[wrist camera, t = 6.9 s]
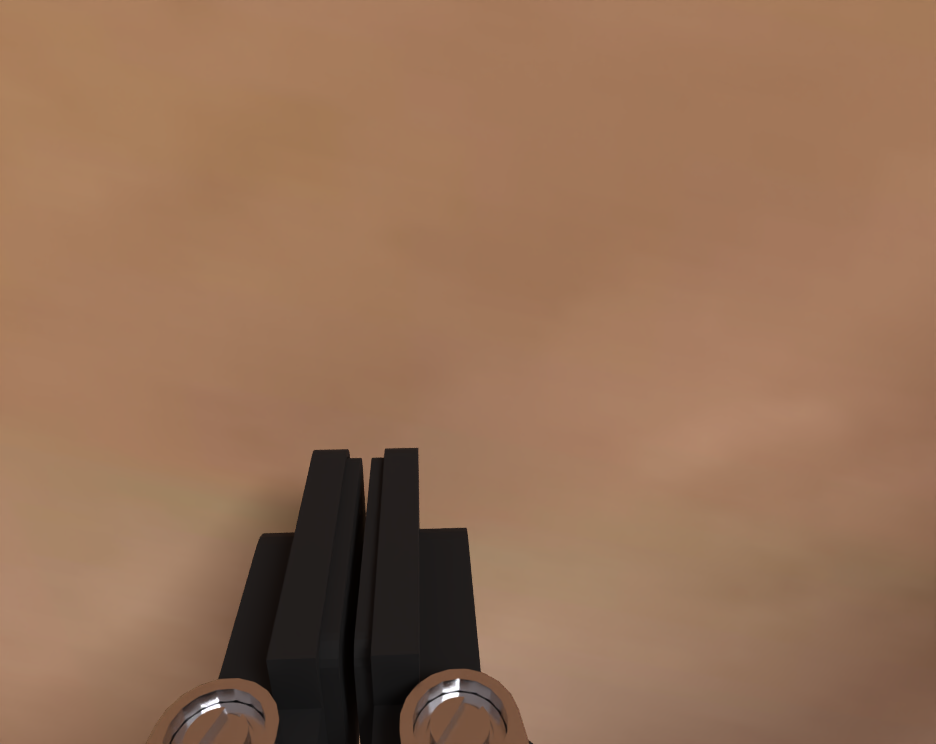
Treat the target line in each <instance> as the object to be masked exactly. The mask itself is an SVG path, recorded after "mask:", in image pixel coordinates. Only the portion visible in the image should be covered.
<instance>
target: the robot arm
mask: <svg viewBox="0 0 936 744" xmlns="http://www.w3.org/2000/svg"><path fill="white" fill-rule="evenodd" d="M359 734H360V744H533V743H531V742H530V741H529V740H528V738H527V734H526V731H525V728H524V725H523V721H522V718H521V715H520V712H519V709H518V707H517V705H516V703H515V701H514V699H513V697H512V695H511V693H510V692H509V691H508V690H507V689H506V688H505V687H504V686H503V685H502V684H501V683H500V682H499V681H497V680H496V679H494V678H492V677H490V676H488V675H487V674H485V673H482V672H481V669H480V659H479V648H478V638H477V627H476V617H475V606H474V596H473V585H472V575H471V564H470V553H469V543H468V534H467V528H442V529H420V528H419V465H418V448H392V449H385V454H384V458H372V460H371V470H370V480H369V491H368V501H367V512H365V496H364V480H363V465H362V459H361V458H350V454H349V450H348V449H342V450H314V451H313V454H312V458H311V463H310V467H309V472H308V476H307V480H306V485H305V489H304V494H303V498H302V503H301V507H300V512H299V516H298V520H297V525H296V529H295V533H264V534H262V535H261V537H260V539H259V541H258V544H257V547H256V550H255V554H254V557H253V561H252V564H251V568H250V571H249V575H248V578H247V582H246V585H245V589H244V592H243V596H242V599H241V603H240V606H239V610H238V613H237V616H236V620H235V623H234V627H233V630H232V634H231V637H230V641H229V644H228V648H227V651H226V655H225V658H224V662H223V665H222V669H221V672H220V676H219V679H218V680H215V681H212V682H208V683H205V684H202V685H199V686H198V687H196V688H194V689H192V690H191V691H189V692H187V693H185V694H183V695H182V696H181V697H180V698H179V699H178V700H176V701H175V702H174V703H173V704H172V705H171V706H170V707H169V708H167V709H166V711H165V712H164V714H163V715H162V717H161V718H160V719H159V721H158V722H157V724H156V725H155V727H154V729H153V731H152V733H151V735H150V736H149V738H148V740H147V742H146V744H359Z"/></svg>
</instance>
